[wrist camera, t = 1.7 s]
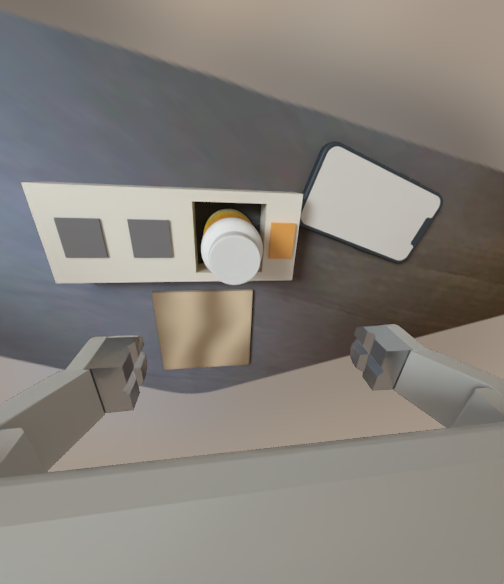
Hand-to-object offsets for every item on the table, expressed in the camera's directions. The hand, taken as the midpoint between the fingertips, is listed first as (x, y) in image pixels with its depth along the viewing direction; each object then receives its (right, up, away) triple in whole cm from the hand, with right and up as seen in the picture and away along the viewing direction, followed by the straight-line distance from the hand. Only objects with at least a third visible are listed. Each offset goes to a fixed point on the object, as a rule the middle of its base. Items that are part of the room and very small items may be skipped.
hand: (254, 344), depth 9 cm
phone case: (+13, +12, +19) cm, 26 cm away
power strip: (-8, +8, +17) cm, 20 cm away
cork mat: (-6, -3, +23) cm, 24 cm away
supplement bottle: (-3, +9, +18) cm, 20 cm away
